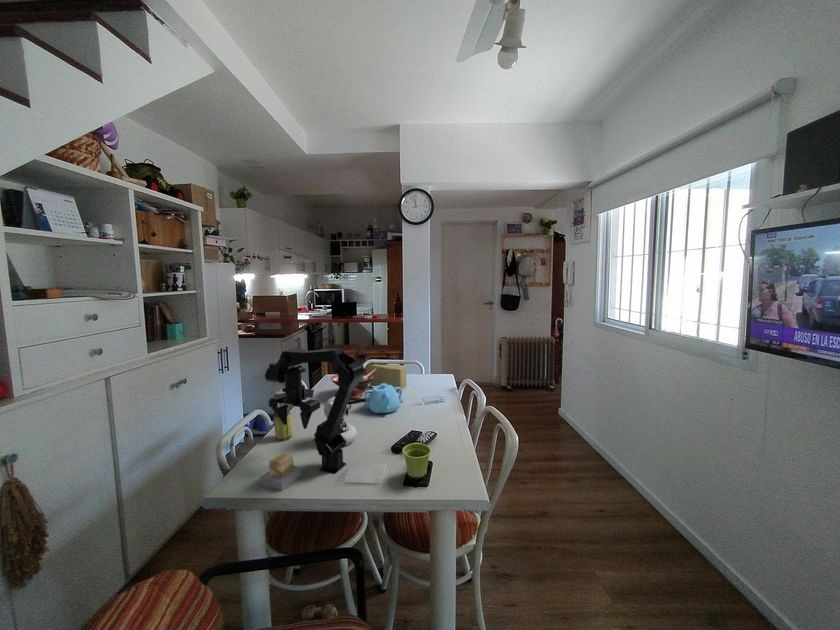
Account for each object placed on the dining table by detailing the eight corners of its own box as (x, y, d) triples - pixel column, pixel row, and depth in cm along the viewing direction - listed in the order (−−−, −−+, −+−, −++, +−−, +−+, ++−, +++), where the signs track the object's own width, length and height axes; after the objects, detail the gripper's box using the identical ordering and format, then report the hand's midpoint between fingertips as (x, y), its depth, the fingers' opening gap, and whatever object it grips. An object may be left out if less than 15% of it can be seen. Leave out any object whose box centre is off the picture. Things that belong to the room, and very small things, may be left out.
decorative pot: (382, 402, 175) (381, 377, 174) (406, 408, 166) (406, 382, 165) (360, 412, 162) (360, 385, 161) (385, 419, 153) (385, 391, 152)
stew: (375, 388, 199) (375, 362, 198) (385, 401, 177) (385, 372, 175) (328, 394, 189) (327, 367, 188) (332, 408, 167) (331, 377, 165)
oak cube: (293, 469, 107) (292, 455, 107) (281, 478, 102) (281, 462, 102) (281, 466, 109) (280, 452, 108) (269, 474, 104) (268, 459, 104)
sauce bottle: (287, 433, 139) (284, 388, 137) (295, 438, 135) (292, 391, 133) (272, 439, 133) (269, 392, 132) (279, 444, 130) (277, 395, 128)
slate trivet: (302, 474, 108) (302, 467, 108) (282, 490, 100) (281, 483, 100) (281, 469, 112) (281, 462, 111) (260, 484, 103) (259, 476, 103)
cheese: (366, 390, 195) (365, 366, 193) (373, 385, 204) (373, 362, 203) (401, 394, 188) (401, 368, 187) (407, 388, 198) (406, 364, 196)
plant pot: (430, 466, 112) (430, 442, 112) (432, 483, 103) (432, 457, 102) (403, 467, 112) (402, 443, 111) (402, 484, 103) (402, 457, 102)
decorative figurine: (348, 450, 124) (347, 399, 122) (312, 448, 126) (310, 397, 124) (361, 433, 138) (360, 387, 137) (329, 431, 141) (327, 386, 139)
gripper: (329, 380, 120) (330, 421, 122) (289, 375, 127) (291, 414, 129) (308, 389, 110) (310, 434, 111) (266, 384, 117) (268, 426, 118)
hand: (295, 426), depth 118 cm, fingers open, 9 cm apart
